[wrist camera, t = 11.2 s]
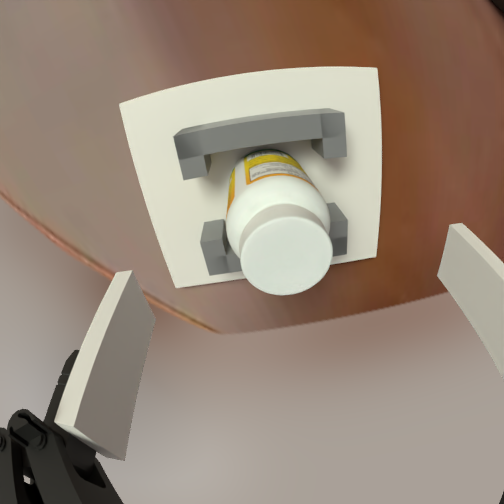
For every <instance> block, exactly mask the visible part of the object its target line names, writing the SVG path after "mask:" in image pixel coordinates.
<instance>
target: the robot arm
mask: <svg viewBox="0 0 504 504" xmlns="http://www.w3.org/2000/svg"><path fill="white" fill-rule="evenodd" d="M492 1H493V2H494V4H495V5H496V6H497V7H498V8H499V9H501V10H502V11H503V12H504V0H492ZM437 276H438V278H439V279H440V280H441V282H442V283H443V284H444V286H445V287H446V288H447V290H448V291H449V293H450V294H451V295H452V297H453V298H454V300H455V301H456V302H457V304H458V305H459V307H460V308H461V310H462V311H463V313H464V314H465V316H466V317H467V319H468V320H469V322H470V323H471V325H472V326H473V328H474V329H475V331H476V333H477V334H478V336H479V337H480V339H481V340H482V342H483V344H484V345H485V347H486V349H487V351H488V353H489V354H490V356H491V358H492V359H493V361H494V363H495V365H496V366H497V368H498V370H499V372H500V374H501V376H502V378H503V380H504V263H503V262H502V261H501V260H500V259H499V258H498V257H497V256H496V255H495V254H494V253H493V252H492V251H491V250H490V249H489V248H488V247H487V246H486V245H485V244H484V243H483V242H482V241H481V240H480V239H479V238H478V237H477V236H476V235H474V234H473V233H472V232H471V231H470V230H469V229H468V228H467V227H466V226H465V225H464V224H462V223H458V224H451V225H449V230H448V235H447V239H446V244H445V248H444V252H443V256H442V260H441V264H440V268H439V271H438V275H437ZM155 321H156V318H155V316H154V315H153V312H152V310H151V309H150V306H149V304H148V302H147V300H146V298H145V296H144V294H143V292H142V290H141V288H140V286H139V284H138V281H137V279H136V277H135V275H134V273H133V270H131V271H124V272H117V273H116V274H115V276H114V278H113V280H112V282H111V284H110V286H109V288H108V290H107V292H106V294H105V296H104V299H103V300H102V302H101V304H100V306H99V308H98V311H97V313H96V315H95V317H94V319H93V322H92V324H91V326H90V328H89V330H88V332H87V335H86V337H85V339H84V342H83V344H82V346H81V349H80V350H75V351H74V352H73V353H72V354H71V355H70V357H69V358H68V359H67V360H66V362H65V365H64V367H63V370H62V375H61V376H60V377H59V380H58V385H56V388H55V391H54V393H53V396H52V399H51V402H50V405H49V407H48V410H47V414H46V416H45V419H44V421H43V422H42V421H41V420H40V419H39V418H37V417H36V416H35V415H33V414H32V413H31V412H30V411H29V410H26V409H21V410H18V411H16V412H15V413H14V414H13V415H12V417H11V418H10V420H9V423H8V427H7V430H6V429H5V428H0V504H123V502H122V501H121V499H120V497H119V496H118V494H117V492H116V491H115V489H114V487H113V486H112V484H111V482H110V481H109V479H108V477H107V475H106V473H105V472H104V470H103V468H102V466H101V464H100V462H99V461H98V460H97V458H95V455H96V451H97V452H98V453H100V454H101V455H103V456H105V457H108V458H113V459H118V460H123V461H125V456H126V449H127V444H128V438H129V433H130V428H131V422H132V417H133V412H134V407H135V402H136V398H137V393H138V389H139V384H140V380H141V376H142V371H143V367H144V363H145V359H146V355H147V351H148V347H149V343H150V339H151V336H152V332H153V328H154V324H155ZM23 475H25V476H27V477H29V478H30V484H28V483H26V482H24V477H23ZM499 504H504V492H503V495H502V498H501V500H500V503H499Z"/></svg>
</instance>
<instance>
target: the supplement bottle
mask: <svg viewBox="0 0 504 504" xmlns="http://www.w3.org/2000/svg"><path fill="white" fill-rule="evenodd" d="M329 231H330V214H329V210H328V206H327V204H326V202H325V200H324V198H323V197H322V195H321V194H320V192H319V191H318V189H317V188H316V186H315V185H314V184H313V182H312V181H311V179H310V178H309V177H308V175H307V174H306V173H305V171H304V170H303V168H302V167H301V166H300V164H299V163H298V162H297V161H296V160H295V159H294V158H293V157H292V156H291V155H289V154H288V153H286V152H284V151H282V150H279V149H274V148H261V149H256V150H253V151H251V152H249V153H247V154H246V155H244V156H243V157H242V158H241V159H240V160H239V161H238V162H237V163H236V165H235V166H234V168H233V170H232V172H231V175H230V180H229V191H228V204H227V213H226V232H227V237H228V241H229V243H230V246H231V247H232V249H233V251H234V252H235V254H236V255H237V256H238V257H239V258H240V263H241V268H242V271H243V273H244V275H245V277H246V278H247V280H248V281H249V282H250V283H251V284H252V285H253V286H255V287H256V288H258V289H260V290H261V291H264V292H266V293H270V294H275V295H291V294H296V293H300V292H302V291H305V290H307V289H309V288H311V287H312V286H314V285H315V284H316V283H318V282H319V281H320V280H321V279H322V278H323V276H324V275H325V274H326V272H327V271H328V269H329V267H330V264H331V261H332V257H333V247H332V243H331V240H330V237H329Z"/></svg>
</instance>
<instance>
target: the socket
mask: <svg viewBox="0 0 504 504" xmlns="http://www.w3.org/2000/svg"><path fill="white" fill-rule="evenodd" d="M119 106H120V110H121V115H122V119H123V123H124V127H125V131H126V135H127V139H128V143H129V147H130V150H131V154H132V158H133V161H134V165H135V169H136V172H137V175H138V179H139V182H140V186H141V189H142V192H143V195H144V199H145V202H146V205H147V208H148V211H149V214H150V217H151V220H152V223H153V226H154V229H155V232H156V235H157V238H158V241H159V244H160V247H161V250H162V252H163V255H164V258H165V261H166V263H167V266H168V269H169V271H170V274H171V277H172V279H173V282H174V284H175V287H176V288H180V287H188V286H195V285H202V284H209V283H216V282H223V281H230V280H237V279H244V278H246V277H245V275H244V273H243V271H242V268H241V263H240V258H239V257H238V256H237V255H236V254H235V252H234V251H233V249H232V247H231V246H230V243H229V241H228V237H227V232H226V213H227V204H228V191H229V180H230V175H231V172H232V170H233V168H234V166H235V165H236V163H237V162H238V161H239V160H240V159H241V158H242V157H243V156H244V155H246V154H247V153H249V152H251V151H253V150H256V149H261V148H274V149H279V150H282V151H284V152H286V153H288V154H289V155H291V156H292V157H293V158H294V159H295V160H296V161H297V162H298V163H299V164H300V166H301V167H302V168H303V170H304V171H305V173H306V174H307V175H308V177H309V178H310V179H311V181H312V182H313V184H314V185H315V186H316V188H317V189H318V191H319V192H320V194H321V195H322V197H323V198H324V200H325V202H326V204H327V206H328V210H329V214H330V231H329V237H330V240H331V243H332V247H333V257H332V261H331V264H330V265H332V264H338V263H344V262H349V261H355V260H361V259H366V258H372V257H376V252H377V243H378V232H379V219H380V203H381V177H382V134H381V109H380V94H379V82H378V71H377V68H368V67H307V68H290V69H278V70H268V71H259V72H251V73H244V74H237V75H231V76H225V77H220V78H214V79H209V80H204V81H199V82H195V83H190V84H186V85H182V86H178V87H174V88H170V89H166V90H162V91H159V92H155V93H152V94H148V95H145V96H142V97H139V98H135V99H132V100H129V101H126V102H123V103H120V104H119Z"/></svg>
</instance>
